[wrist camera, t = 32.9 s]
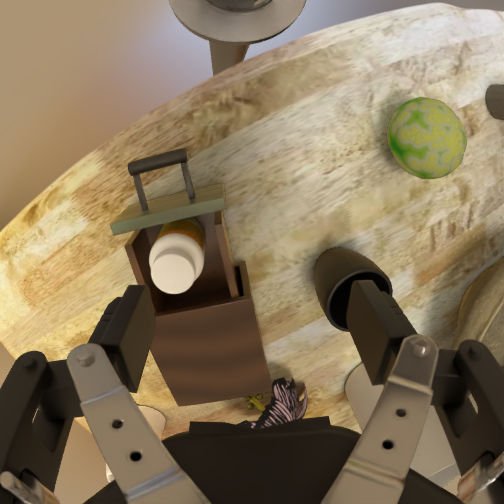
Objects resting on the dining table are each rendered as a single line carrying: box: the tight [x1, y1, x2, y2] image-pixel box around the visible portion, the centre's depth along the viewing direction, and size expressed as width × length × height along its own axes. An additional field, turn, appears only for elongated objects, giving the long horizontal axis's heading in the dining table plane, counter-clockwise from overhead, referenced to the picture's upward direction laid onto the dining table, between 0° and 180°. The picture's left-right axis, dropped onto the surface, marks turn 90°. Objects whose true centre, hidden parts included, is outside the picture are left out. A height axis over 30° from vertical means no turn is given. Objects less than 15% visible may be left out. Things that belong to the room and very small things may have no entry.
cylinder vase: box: [345, 363, 460, 488], centre depth 41 cm, size 12×12×25 cm
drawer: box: [110, 148, 241, 313], centre depth 34 cm, size 19×11×7 cm, turn 11°
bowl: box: [452, 256, 504, 371], centre depth 42 cm, size 28×28×14 cm
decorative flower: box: [237, 377, 307, 429], centre depth 46 cm, size 15×12×15 cm
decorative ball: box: [387, 97, 467, 179], centre depth 31 cm, size 10×10×10 cm
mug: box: [314, 247, 393, 332], centre depth 38 cm, size 8×12×10 cm
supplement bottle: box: [149, 217, 206, 294], centre depth 32 cm, size 5×5×10 cm
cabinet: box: [150, 261, 273, 406], centre depth 39 cm, size 15×13×9 cm
